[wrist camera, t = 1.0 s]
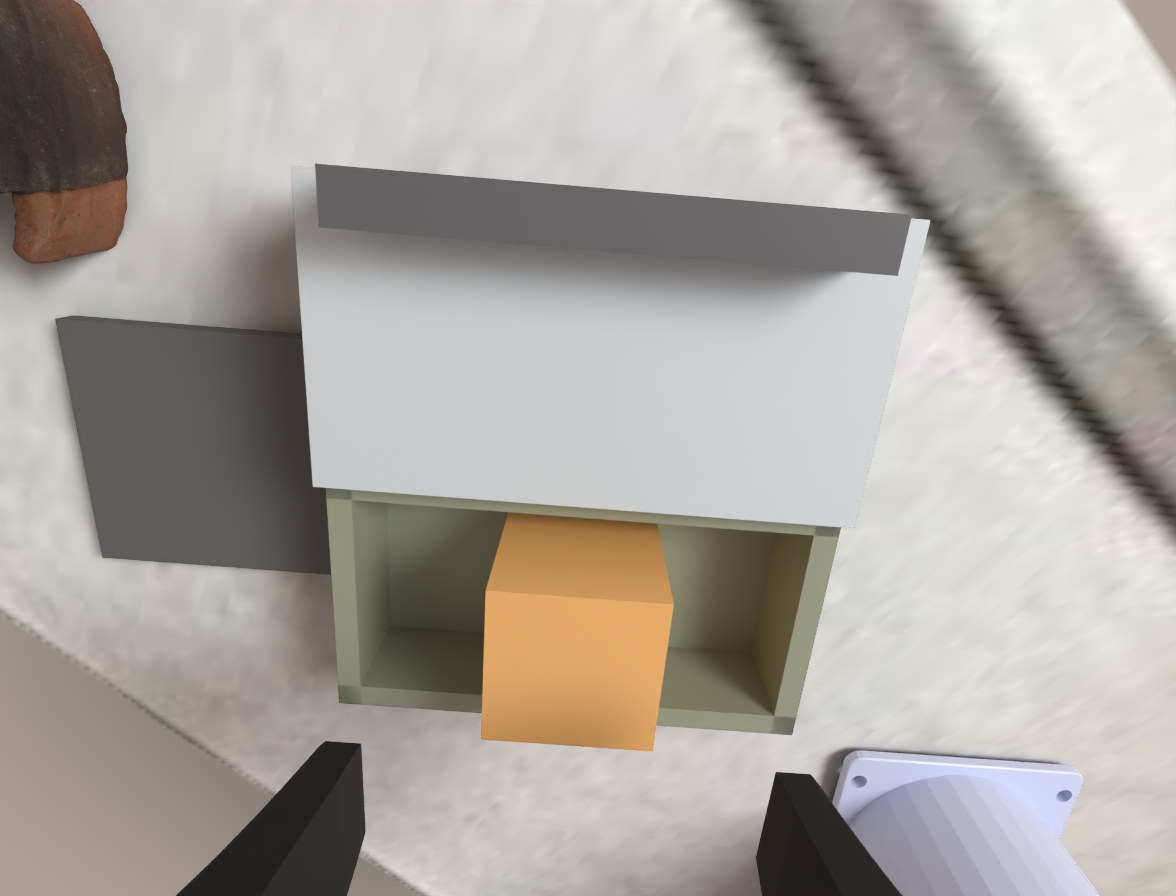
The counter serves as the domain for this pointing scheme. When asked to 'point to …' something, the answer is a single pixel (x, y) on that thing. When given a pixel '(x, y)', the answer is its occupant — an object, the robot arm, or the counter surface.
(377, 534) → the case
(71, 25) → the broken clay pot
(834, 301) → the lid
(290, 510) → the mat
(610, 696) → the block
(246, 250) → the counter surface
